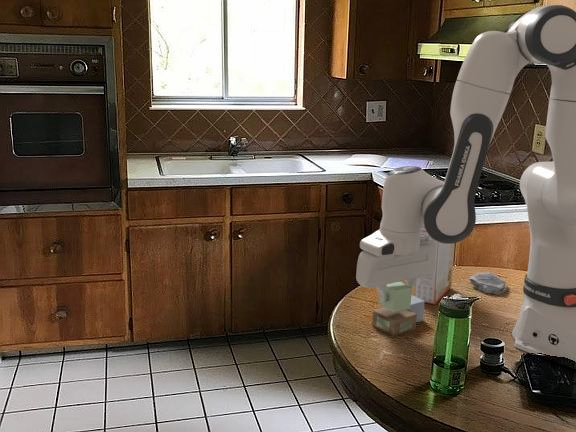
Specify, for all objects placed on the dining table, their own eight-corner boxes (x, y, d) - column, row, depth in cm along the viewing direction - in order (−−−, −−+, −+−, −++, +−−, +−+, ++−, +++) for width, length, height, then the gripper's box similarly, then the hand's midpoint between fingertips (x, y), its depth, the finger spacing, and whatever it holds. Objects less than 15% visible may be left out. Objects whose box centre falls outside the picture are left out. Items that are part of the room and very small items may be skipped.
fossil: (514, 285, 170) (476, 276, 169) (509, 300, 170) (472, 291, 170) (501, 274, 181) (466, 266, 181) (496, 288, 181) (462, 280, 181)
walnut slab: (416, 330, 149) (417, 314, 148) (393, 338, 145) (395, 321, 144) (393, 319, 155) (394, 303, 154) (371, 326, 150) (372, 310, 149)
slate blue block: (423, 320, 154) (424, 300, 153) (407, 325, 151) (408, 305, 150) (408, 313, 158) (409, 293, 157) (392, 317, 155) (394, 297, 154)
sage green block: (409, 308, 146) (412, 287, 145) (392, 311, 143) (395, 290, 142) (395, 300, 150) (397, 280, 149) (378, 303, 148) (380, 283, 146)
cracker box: (430, 283, 177) (436, 209, 171) (451, 288, 174) (459, 212, 169) (411, 300, 165) (417, 221, 160) (434, 305, 162) (441, 225, 157)
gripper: (425, 230, 150) (420, 286, 154) (353, 242, 140) (350, 301, 144) (444, 237, 145) (439, 295, 149) (372, 250, 135) (368, 312, 139)
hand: (395, 298), depth 146 cm, fingers closed on sage green block, 5 cm apart
